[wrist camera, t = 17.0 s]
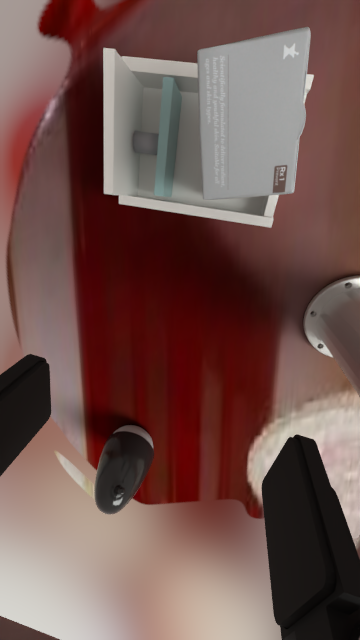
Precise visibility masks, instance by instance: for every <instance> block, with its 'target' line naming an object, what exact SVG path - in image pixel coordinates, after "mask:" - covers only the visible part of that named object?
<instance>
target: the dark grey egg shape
mask: <svg viewBox="0 0 360 640" xmlns="http://www.w3.org/2000/svg"><path fill="white" fill-rule="evenodd" d="M153 458H154V450H153V442H152V439H151V437H150V435H149V434H148V433H147V432H146V431H145V430H144V429H142V428H141V427H138V426H135V425H126V426H123V427H120V428H119V429H117V430H116V431H115V432H114V433H113V434H111V435H110V436H109V437H108V438H107V440H106V442H105V445H104V448H103V450H102V454H101V457H100V460H99V464H98V469H97V474H96V481H95V502H96V505H97V507H98V508H99V510H100V511H102V512H103V513H105V514H115V513H117V512H119V511H120V510H121V509H123V508H124V507H125V506H126V505H127V504H128V503H129V501H130V500H131V499H132V498H133V496H134V495H135V493H136V492H137V490H138V489H139V487H140V485H141V484H142V482H143V480H144V479H145V477H146V475H147V473H148V471H149V468H150V466H151V464H152V461H153Z"/></svg>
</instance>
